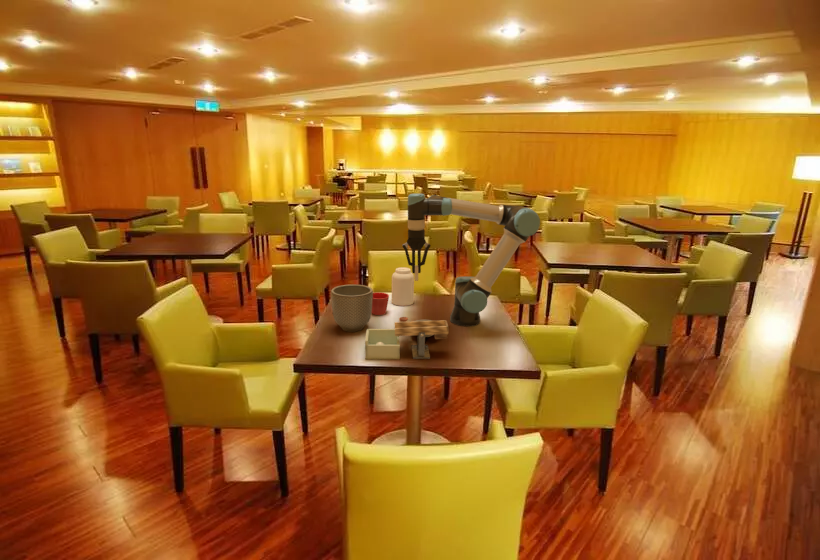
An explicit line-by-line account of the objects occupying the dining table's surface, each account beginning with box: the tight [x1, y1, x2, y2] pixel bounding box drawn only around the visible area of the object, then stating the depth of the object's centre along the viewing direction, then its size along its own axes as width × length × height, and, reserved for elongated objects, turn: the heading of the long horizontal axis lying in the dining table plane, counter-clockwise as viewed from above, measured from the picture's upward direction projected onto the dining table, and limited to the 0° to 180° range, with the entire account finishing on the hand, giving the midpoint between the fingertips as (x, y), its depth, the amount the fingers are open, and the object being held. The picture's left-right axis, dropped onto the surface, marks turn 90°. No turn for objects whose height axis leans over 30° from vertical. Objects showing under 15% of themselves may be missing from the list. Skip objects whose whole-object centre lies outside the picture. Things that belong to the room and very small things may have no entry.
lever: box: [394, 316, 449, 340], centre depth 194 cm, size 22×18×6 cm
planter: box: [330, 284, 374, 333], centre depth 214 cm, size 20×20×19 cm
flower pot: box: [371, 292, 390, 316], centre depth 237 cm, size 11×11×10 cm
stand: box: [411, 332, 431, 360], centre depth 190 cm, size 7×12×11 cm, turn 2°
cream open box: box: [364, 328, 401, 360], centre depth 189 cm, size 14×13×8 cm
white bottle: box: [391, 266, 415, 307], centre depth 253 cm, size 12×12×20 cm
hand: (416, 279), depth 207 cm, fingers closed
